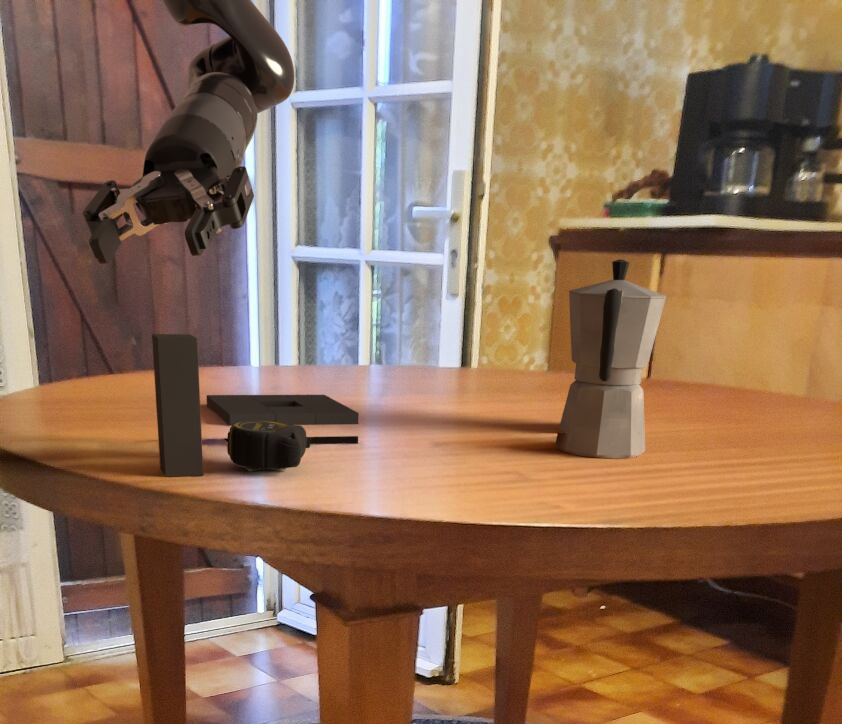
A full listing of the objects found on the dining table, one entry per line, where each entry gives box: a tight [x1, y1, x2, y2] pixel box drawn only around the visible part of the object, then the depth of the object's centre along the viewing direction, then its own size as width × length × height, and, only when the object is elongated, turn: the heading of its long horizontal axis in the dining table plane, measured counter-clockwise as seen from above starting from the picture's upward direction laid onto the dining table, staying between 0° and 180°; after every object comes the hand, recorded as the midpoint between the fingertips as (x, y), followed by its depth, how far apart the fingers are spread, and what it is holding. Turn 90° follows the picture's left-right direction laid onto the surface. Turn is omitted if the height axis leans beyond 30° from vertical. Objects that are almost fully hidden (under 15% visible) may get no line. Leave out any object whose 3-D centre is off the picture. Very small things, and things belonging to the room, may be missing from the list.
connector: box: [151, 333, 204, 478], centre depth 89 cm, size 3×3×11 cm
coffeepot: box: [554, 258, 667, 459], centre depth 106 cm, size 15×9×18 cm, turn 167°
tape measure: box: [226, 421, 312, 472], centre depth 94 cm, size 7×7×4 cm
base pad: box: [206, 394, 360, 445], centre depth 111 cm, size 13×13×3 cm
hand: (145, 249), depth 90 cm, fingers open, 8 cm apart
